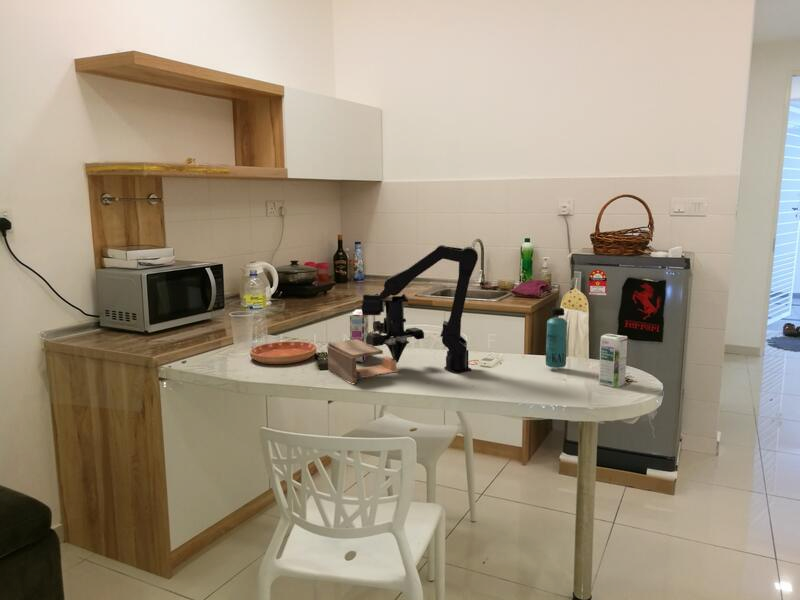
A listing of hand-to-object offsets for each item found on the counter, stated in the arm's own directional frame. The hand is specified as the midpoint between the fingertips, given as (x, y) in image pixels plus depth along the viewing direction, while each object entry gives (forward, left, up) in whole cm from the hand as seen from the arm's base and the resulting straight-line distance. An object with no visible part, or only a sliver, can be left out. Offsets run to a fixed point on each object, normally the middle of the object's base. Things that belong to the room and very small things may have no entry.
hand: (396, 362), depth 203 cm
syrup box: (-45, +49, -2) cm, 67 cm away
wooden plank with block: (+8, -1, -3) cm, 9 cm away
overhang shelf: (+14, -1, -2) cm, 15 cm away
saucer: (+26, -34, -3) cm, 43 cm away
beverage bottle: (-42, +29, -2) cm, 51 cm away
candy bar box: (+4, -18, -2) cm, 19 cm away
